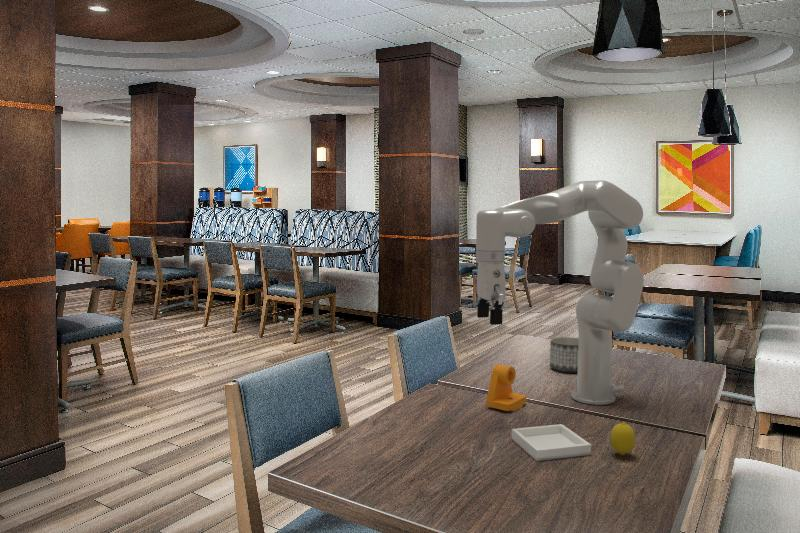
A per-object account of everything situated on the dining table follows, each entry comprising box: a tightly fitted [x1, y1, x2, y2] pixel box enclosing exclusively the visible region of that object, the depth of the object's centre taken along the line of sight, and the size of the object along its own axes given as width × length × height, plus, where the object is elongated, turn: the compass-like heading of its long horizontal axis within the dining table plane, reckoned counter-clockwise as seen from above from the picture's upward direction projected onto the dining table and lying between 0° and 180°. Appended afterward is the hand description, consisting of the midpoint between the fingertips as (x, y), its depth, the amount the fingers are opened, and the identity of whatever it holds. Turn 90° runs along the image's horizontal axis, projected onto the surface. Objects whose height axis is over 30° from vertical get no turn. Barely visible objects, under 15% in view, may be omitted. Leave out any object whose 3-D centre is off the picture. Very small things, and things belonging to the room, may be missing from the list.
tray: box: [511, 423, 592, 462], centre depth 154 cm, size 14×14×2 cm
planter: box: [549, 336, 579, 373], centre depth 222 cm, size 13×13×10 cm
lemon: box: [609, 421, 636, 456], centre depth 149 cm, size 6×6×8 cm
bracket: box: [486, 363, 527, 413], centre depth 183 cm, size 11×7×12 cm, turn 139°
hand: (489, 320), depth 169 cm, fingers open, 9 cm apart
